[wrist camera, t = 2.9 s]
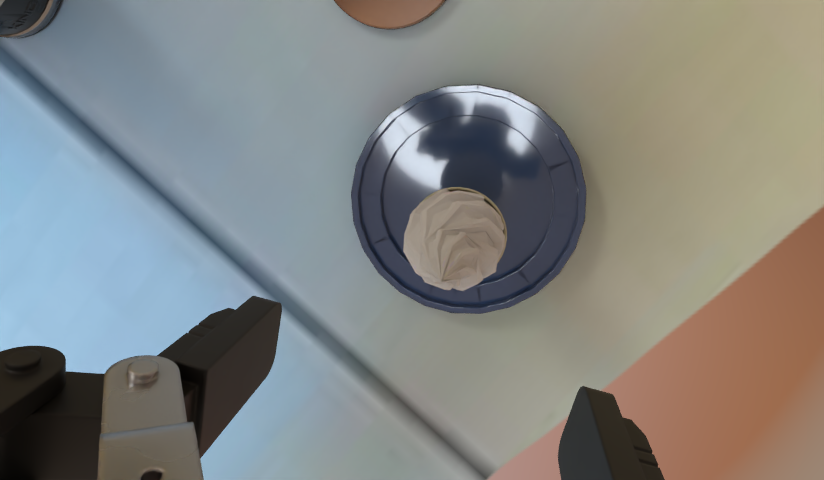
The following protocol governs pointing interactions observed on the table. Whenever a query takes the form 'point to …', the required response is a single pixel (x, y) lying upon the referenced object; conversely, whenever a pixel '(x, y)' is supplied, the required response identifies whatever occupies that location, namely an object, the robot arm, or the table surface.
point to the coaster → (389, 11)
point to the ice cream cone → (455, 238)
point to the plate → (478, 170)
